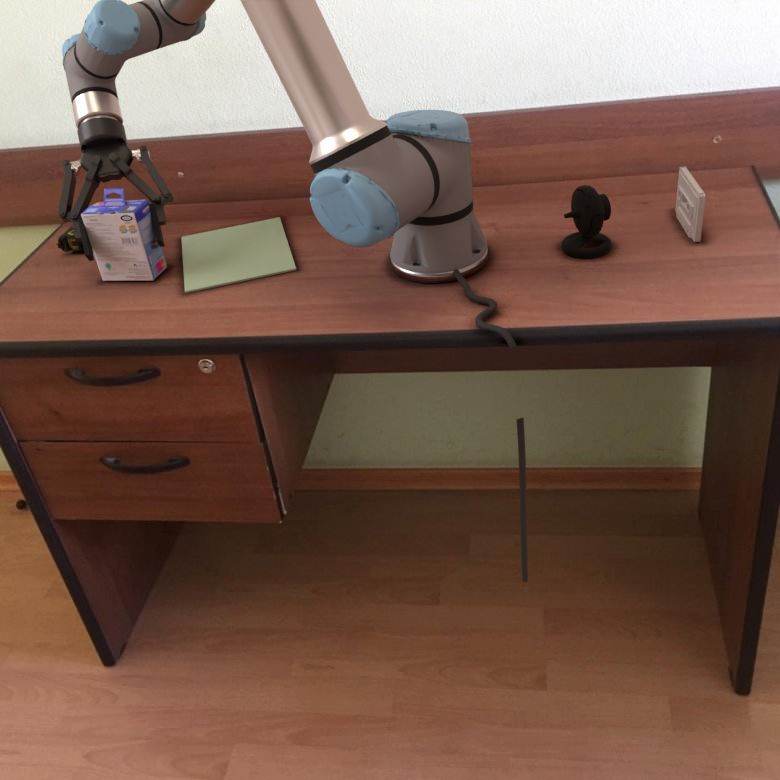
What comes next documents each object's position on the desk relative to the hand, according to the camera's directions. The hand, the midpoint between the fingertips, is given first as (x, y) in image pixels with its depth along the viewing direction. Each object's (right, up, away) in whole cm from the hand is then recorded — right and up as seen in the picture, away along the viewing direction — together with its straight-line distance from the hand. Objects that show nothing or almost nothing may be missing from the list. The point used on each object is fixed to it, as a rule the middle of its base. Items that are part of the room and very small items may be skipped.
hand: (125, 250), depth 134 cm
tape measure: (-13, +3, +17) cm, 22 cm away
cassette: (+90, +3, -3) cm, 90 cm away
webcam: (+73, -1, -5) cm, 73 cm away
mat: (+16, +1, +8) cm, 18 cm away
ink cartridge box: (0, -3, +6) cm, 6 cm away
